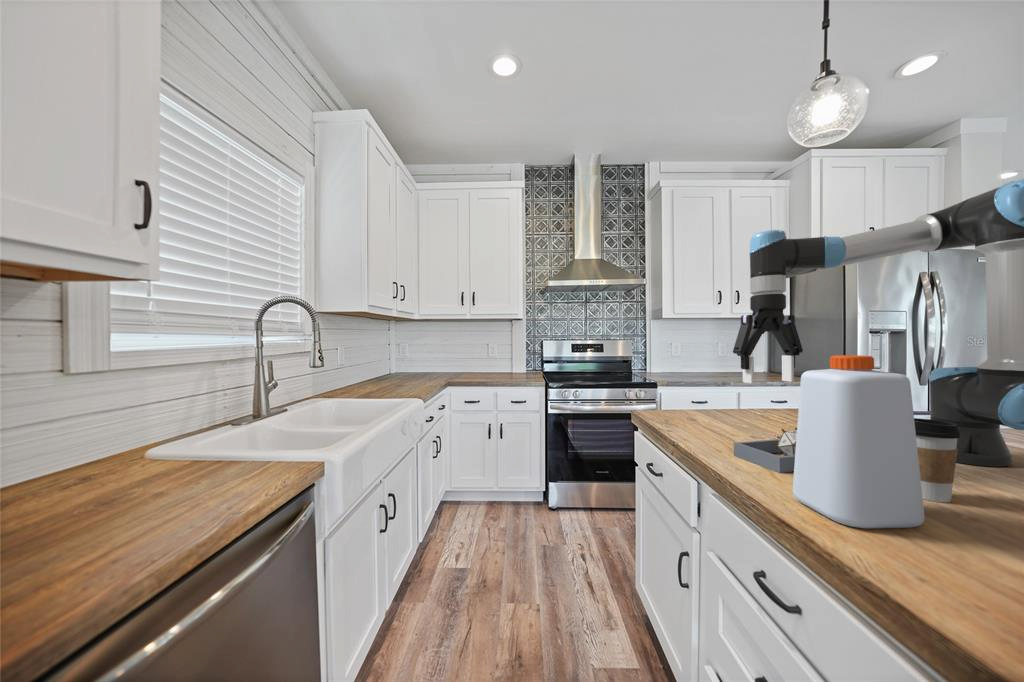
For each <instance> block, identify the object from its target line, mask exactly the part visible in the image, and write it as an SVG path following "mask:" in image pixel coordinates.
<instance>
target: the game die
mask: <svg viewBox="0 0 1024 682" xmlns="http://www.w3.org/2000/svg"><path fill="white" fill-rule="evenodd" d="M781 431H782V433H781V435H780V436H778V435H777V436H776V438H777V439H779V442H778V446H775V447H774V448H779V449H780V450H781V451H782V452H783V453H782V454H783V455H782V456H789V455H795V451H796V437H797V426H796V427H794V429H793V430H785V429H783V428H781Z"/></svg>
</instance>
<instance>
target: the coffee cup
mask: <svg viewBox="0 0 1024 682" xmlns="http://www.w3.org/2000/svg"><path fill="white" fill-rule="evenodd" d="M914 422H915V432H916V441H917V451H918V460H919V470H920V479H921V489H922V498H923V499H926V500H925V501H928V500H930V501H929V502H933V501H935V502H934V503H950V502H952V496H953V486H954V485H953V484H954V480H955V473H956V465H957V462H956V459H957V451H958V448H957V447H956V446H957V438H960V432H959V431H958V427H957V424H955V423H951V422H946V421H939V420H931V418H930V419H929V418H915V417H914Z"/></svg>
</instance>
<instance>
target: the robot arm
mask: <svg viewBox="0 0 1024 682" xmlns="http://www.w3.org/2000/svg"><path fill="white" fill-rule="evenodd" d="M786 235H787V234H786V232H785V231H784V230H780V229H779V230H777V229H771V230H764V231H759V232H757V233H755V234H754V235H752V236H751V237H750V242H749V251H748V252H749V269H750V270H749V271H750V278H749V279H750V285H749V286H750V287H749V289H750V290H749V292H750V293H749V294H751V295H752V296H750V298H749V299H750V301H749V305H750V311H751V312H752V313H751V314H745V315H741V316H740V326H739V330H738V333H737V335H736V340H735V342H734V346H733V350H732V353H733V355H734V354H736V355H737V356H738V357H739V356H740V369H741V370H742V383H745V384H755V360H754V359H755V357H754V356H751V355H752V353H753V352H754V350H755V348H756V347H757V346H758V345H757V344H758V343H759V341H760V339H761V337H762V335H764V334H765V333H768V332H769V333H771V334H772V335H774V338H775V339H776V340H777V342H778V345H779V346H780V348H781V350H782V351H783V353H784V355H783V354H782V355H781V381H782V382H793V383H794V382H795V368H796V356H800V354H802V353H803V352H804V351H803V350H804V349H803V346H802V343H801V339H800V336H799V334H798V330H797V326H796V324H795V323H796V317H795V315H794V314H787V315H786V314H784V310H785V309H786V308H787V295H786V294H784V293H785V292H786V291H787V279H791V278H793V277H795V276H796V277H797V276H801V275H805V274H809V273H814V272H818V271H824V270H829V269H833V268H838V267H843V266H847V265H852V264H856V263H857V264H858V263H863V262H867V261H871V260H877V259H881V258H882V259H883V258H887V257H891V256H896V255H901V254H906V253H911V252H915V251H920V252H923V253H929V252H930V253H931V252H936V251H942V250H947V249H956V248H963V247H964V248H965V247H973V246H974V250H976V251H978V253H980V254H983V255H984V257H985V299H986V300H985V301H986V302H985V303H986V305H985V306H986V309H985V310H986V311H985V312H986V352H987V353H986V356H987V357H986V360H985V361H984V362H981V363H980V364H979V365H977V366H959V367H958V366H956V367H955V366H954V367H953V366H952V367H949V366H947V367H938V368H934V369H932V371H931V372H930V375H929V382H928V384H929V399H930V400H929V406H930V410H929V411H930V413H929V414H930V420H939V421H946V422H951V423H955V424H957V427H958V431H959V432H960V438H957V446H956V447H957V448H958V451H957V459H956V463H958V464H965V465H972V466H983V467H1002V468H1003V467H1009V466H1012V463H1013V462H1012V459H1013V458H1012V454H1011V452H1010V449H1009V448H1008V445H1007V443H1006V441H1005V440H1004V437H1003V435H1002V433H1001V426H1003V427H1007V428H1010V429H1012V430H1013V429H1014V430H1017V431H1024V178H1020V179H1018V180H1014V181H1010V182H1007V183H1005V184H1003V185H1001V186H999V187H996V188H994V189H991V190H988V191H986V192H983V193H980V194H978V195H975V196H972V197H970V198H967V199H965V200H962V201H960V202H958V203H956V204H953V205H951V206H949V207H946V208H943V209H940V210H938V211H935V212H931V213H927V214H926V213H925V214H922V215H920V216H917V217H916V219H915V220H913V221H909V222H905V223H900V224H897V225H891V226H886V227H882V228H878V229H874V230H870V231H865V232H860V233H856V234H855V233H854V234H851V235H845V236H842V237H840V236H825V235H824V236H819V237H803V238H787V236H786Z"/></svg>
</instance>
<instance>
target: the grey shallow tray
mask: <svg viewBox="0 0 1024 682" xmlns="http://www.w3.org/2000/svg"><path fill="white" fill-rule="evenodd" d="M778 442H779V438H777V439H775V438H774V439H762V440H749V441H739V442H736V441H734V442H733V456H734V457H737V458H738V459H742V460H744V461H746V462H749V463H752V464H755V465H757V466H760V467H761V468H763V467H764V468H765V469H768V470H770V471H774V472H776V473H778V474H782V473H784V472H785V473H792V471H794V464H795V455H789V456H783V455H781V456H780V455H777V454H782V453H781V452H782V451H781V450H780V449H779V448H774V447H775V446H778ZM772 453H775V454H772Z"/></svg>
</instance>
